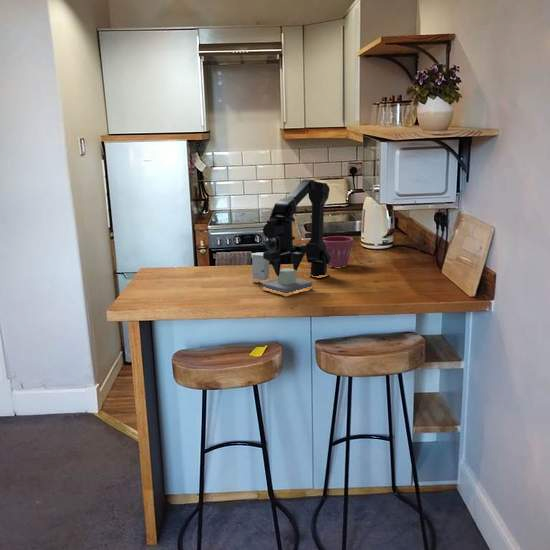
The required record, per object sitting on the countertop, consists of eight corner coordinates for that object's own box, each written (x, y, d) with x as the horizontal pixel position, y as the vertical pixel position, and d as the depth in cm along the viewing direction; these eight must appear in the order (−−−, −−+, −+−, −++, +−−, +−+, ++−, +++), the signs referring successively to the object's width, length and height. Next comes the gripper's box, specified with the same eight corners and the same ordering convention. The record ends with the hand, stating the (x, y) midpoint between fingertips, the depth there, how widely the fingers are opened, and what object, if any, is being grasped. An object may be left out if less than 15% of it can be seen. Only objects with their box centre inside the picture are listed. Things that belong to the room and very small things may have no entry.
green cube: (287, 280, 230) (287, 268, 229) (296, 282, 227) (295, 270, 225) (278, 282, 227) (277, 270, 226) (286, 285, 224) (286, 272, 222)
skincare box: (252, 282, 240) (250, 254, 237) (258, 280, 244) (256, 252, 241) (265, 284, 237) (263, 255, 234) (270, 281, 241) (269, 253, 238)
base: (288, 283, 237) (288, 276, 237) (312, 289, 227) (312, 282, 226) (262, 290, 228) (261, 283, 228) (286, 297, 218) (285, 289, 217)
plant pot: (352, 262, 269) (352, 235, 266) (353, 269, 256) (353, 241, 252) (322, 262, 271) (321, 236, 267) (321, 270, 257) (320, 241, 254)
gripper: (288, 228, 234) (290, 266, 238) (253, 235, 222) (255, 274, 226) (308, 231, 226) (309, 270, 230) (272, 238, 214) (273, 279, 218)
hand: (286, 273), depth 226 cm, fingers open, 9 cm apart
